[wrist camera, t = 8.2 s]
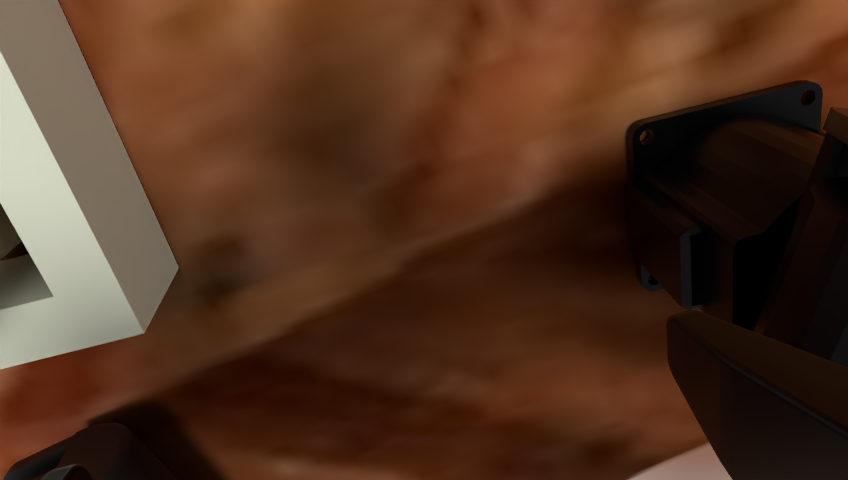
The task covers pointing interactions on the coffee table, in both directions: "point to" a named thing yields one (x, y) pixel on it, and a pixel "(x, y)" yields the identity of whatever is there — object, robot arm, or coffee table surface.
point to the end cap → (96, 456)
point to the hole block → (68, 200)
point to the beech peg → (7, 234)
